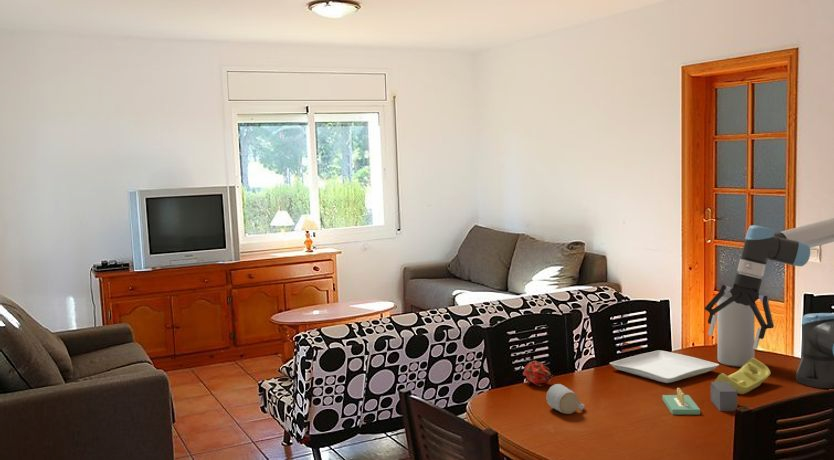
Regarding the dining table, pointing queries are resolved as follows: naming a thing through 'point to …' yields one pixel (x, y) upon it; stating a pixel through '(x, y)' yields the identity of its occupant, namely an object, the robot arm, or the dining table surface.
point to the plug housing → (723, 396)
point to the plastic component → (746, 376)
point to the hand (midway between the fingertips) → (732, 341)
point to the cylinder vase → (735, 333)
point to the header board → (680, 403)
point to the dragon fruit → (537, 373)
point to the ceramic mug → (563, 399)
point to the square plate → (664, 366)
